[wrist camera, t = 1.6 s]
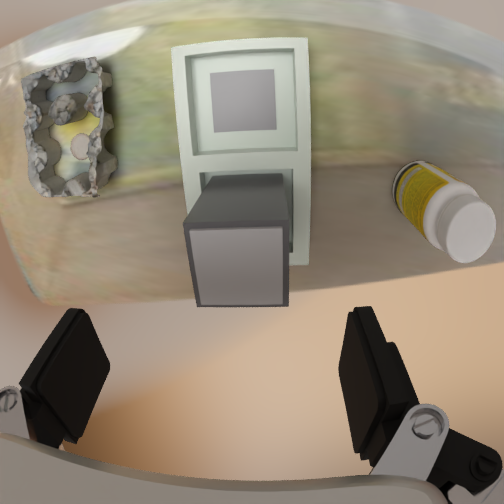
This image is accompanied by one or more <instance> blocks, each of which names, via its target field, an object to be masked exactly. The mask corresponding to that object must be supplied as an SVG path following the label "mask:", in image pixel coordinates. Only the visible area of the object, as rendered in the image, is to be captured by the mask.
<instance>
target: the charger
mask: <svg viewBox="0 0 504 504" xmlns="http://www.w3.org/2000/svg"><path fill="white" fill-rule="evenodd" d="M183 227H184V234H185V240H186V247H187V253H188V259H189V265H190V271H191V276H192V282H193V288H194V293H195V299H196V303H197V307H281V306H282V307H285V306H286V307H287V306H289V214H288V208H287V201H286V195H285V189H284V182H283V176H282V173H269V174H240V175H220V176H212V178H211V179H210V181H209V182H208V184H207V185H206V187H205V188H204V190H203V192H202V193H201V195H200V196H199V198H198V199H197V201H196V203H195V204H194V206H193V207H192V209H191V211H190V212H189V214H188V216H187V217H186V219H185V220H184V222H183Z"/></svg>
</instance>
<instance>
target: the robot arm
mask: <svg viewBox="0 0 504 504" xmlns="http://www.w3.org/2000/svg"><path fill="white" fill-rule="evenodd" d="M109 371H110V362H109V360H108V358H107V356H106V354H105V351H104V349H103V347H102V345H101V343H100V341H99V338H98V336H97V334H96V331H95V329H94V327H93V324H92V322H91V319H90V317H89V315H88V314H87V313H86V312H85V311H84V310H83V309H77V308H70V309H68V310H67V311H66V313H65V314H64V315H63V317H62V318H61V320H60V321H59V323H58V324H57V325H56V327H55V328H54V330H53V331H52V333H51V334H50V335H49V337H48V339H47V340H46V341H45V343H44V344H43V346H42V348H41V349H40V350H39V352H38V354H37V355H36V357H35V358H34V360H33V361H32V363H31V364H30V366H29V368H28V369H27V371H26V372H25V374H24V376H23V377H22V379H21V381H20V382H19V384H20V386H21V387H22V389H21V390H19V389H18V388H17V387H14V386H7V387H4V388H3V389H1V390H0V504H504V470H503V469H502V460H501V457H500V455H499V454H498V453H497V451H495V450H494V449H492V448H490V447H488V446H486V445H484V444H482V443H479V442H477V441H475V440H473V439H471V438H469V437H467V436H464V435H462V434H460V433H458V432H456V431H454V430H452V429H450V428H449V420H448V417H447V415H446V413H445V412H444V411H443V410H442V409H440V408H439V407H437V406H435V405H431V404H420V403H419V401H418V398H417V395H416V393H415V390H414V388H413V385H412V383H411V380H410V378H409V375H408V372H407V370H406V368H405V365H404V363H403V360H402V358H401V355H400V353H399V351H398V348H397V346H396V345H395V343H394V342H386V339H385V337H384V334H383V332H382V330H381V327H380V325H379V322H378V320H377V318H376V315H375V313H374V311H373V309H372V307H371V306H365V307H355V308H354V310H353V312H349V313H348V317H347V323H346V329H345V335H344V341H343V346H342V351H341V356H340V361H339V377H340V382H341V387H342V391H343V396H344V401H345V406H346V411H347V416H348V421H349V426H350V432H351V437H352V442H353V448H354V452H355V453H360V458H361V460H367V459H369V462H370V466H372V467H373V469H372V471H371V472H370V473H369V475H356V476H345V477H332V478H322V479H307V480H282V481H239V480H218V479H205V478H194V477H184V476H176V475H168V474H161V473H155V472H149V471H143V470H137V469H133V468H127V467H123V466H118V465H114V464H109V463H105V462H101V461H97V460H93V459H90V458H86V457H82V456H78V455H75V454H72V453H69V452H66V451H64V448H63V445H62V441H63V439H64V440H65V441H67V442H71V443H74V444H77V441H78V439H79V438H80V437H82V435H83V433H84V430H85V428H86V425H87V423H88V420H89V418H90V415H91V413H92V410H93V408H94V406H95V403H96V401H97V399H98V396H99V394H100V392H101V389H102V387H103V384H104V382H105V380H106V378H107V375H108V373H109Z"/></svg>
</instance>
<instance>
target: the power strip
mask: <svg viewBox="0 0 504 504" xmlns="http://www.w3.org/2000/svg"><path fill="white" fill-rule="evenodd" d="M171 54H172V70H173V84H174V97H175V108H176V119H177V130H178V140H179V149H180V158H181V167H182V176H183V184H184V192H185V200H186V207H187V215H188V214H189V212H190V211H191V209H192V207H193V206H194V204H195V203H196V201H197V199H198V198H199V196H200V195H201V193H202V192H203V190H204V188H205V187H206V185H207V184H208V182H209V181H210V179H211V178H212V176H220V175H240V174H269V173H282V176H283V182H284V189H285V195H286V201H287V208H288V214H289V265H309V243H310V208H311V112H310V78H309V55H308V38H293V37H282V38H250V39H235V40H223V41H213V42H205V43H197V44H190V45H183V46H177V47H171Z"/></svg>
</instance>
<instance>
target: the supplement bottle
mask: <svg viewBox="0 0 504 504" xmlns="http://www.w3.org/2000/svg"><path fill="white" fill-rule="evenodd" d="M393 199H394V202H395V204H396V206H397V208H398V209H399V210H400V212H401V213H402V214H403V215H404V216H405V217H406V218H407V219H408V220H409V221H410V222H411V223H412V224H413V225H414V226H415V227H416V228H417V229H418V230H419V231H420V233H421V234H422V235H423V236H424V237H425V238H426V239H427V240H428V241H429V242H430V243H431V244H432V245H433V246H434V247H436V248H438V249H440V250H443V251H444V252H445V253H447V254H448V255H449V256H450V257H451V258H452V259H453V260H455V261H457V262H459V263H469V262H472V261H475V260H477V259H478V258H480V257H481V256H482V255H483V254H484V253H485V252H486V251H487V250H488V248H489V247H490V245H491V243H492V241H493V239H494V236H495V231H496V218H495V214H494V212H493V210H492V209H491V207H490V206H489V205H488V204H486V203H485V202H484V201H482V200H481V199H480V198H479V196H478V194H477V193H476V191H475V190H474V189H473V188H472V187H471V186H469V185H468V184H466V183H465V182H463V181H461V180H459V179H458V178H456V177H454V176H453V175H451V174H449V173H448V172H446V171H444V170H442V169H440V168H439V167H437V166H435V165H433V164H431V163H429V162H426V161H415V162H411V163H409V164H407V165H406V166H404V167H403V168H402V169H401V170H400V171H399V172H398V174H397V176H396V178H395V180H394V183H393Z"/></svg>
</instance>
